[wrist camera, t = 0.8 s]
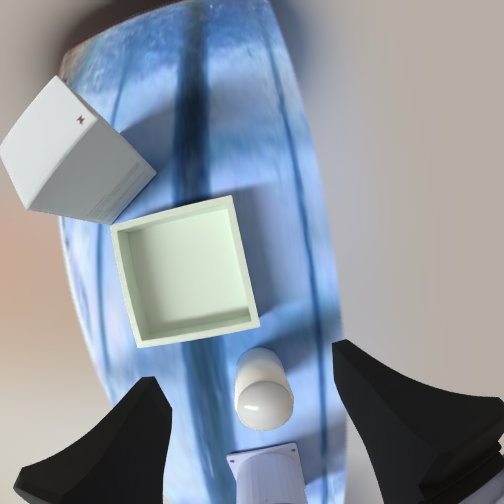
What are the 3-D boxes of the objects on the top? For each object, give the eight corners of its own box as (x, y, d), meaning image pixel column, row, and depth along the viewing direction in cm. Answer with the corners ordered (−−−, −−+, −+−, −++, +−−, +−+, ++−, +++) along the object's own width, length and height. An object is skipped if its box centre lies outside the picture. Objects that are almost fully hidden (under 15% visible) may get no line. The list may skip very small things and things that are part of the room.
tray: (258, 318, 25) (260, 326, 22) (148, 338, 25) (137, 348, 22) (232, 201, 25) (231, 194, 22) (123, 228, 25) (110, 225, 22)
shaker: (285, 381, 25) (300, 425, 17) (241, 390, 25) (242, 437, 17) (276, 342, 25) (290, 377, 17) (231, 352, 25) (227, 390, 17)
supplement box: (118, 131, 25) (58, 70, 12) (159, 174, 25) (101, 117, 13) (73, 182, 25) (-5, 148, 12) (109, 228, 25) (24, 212, 12)
